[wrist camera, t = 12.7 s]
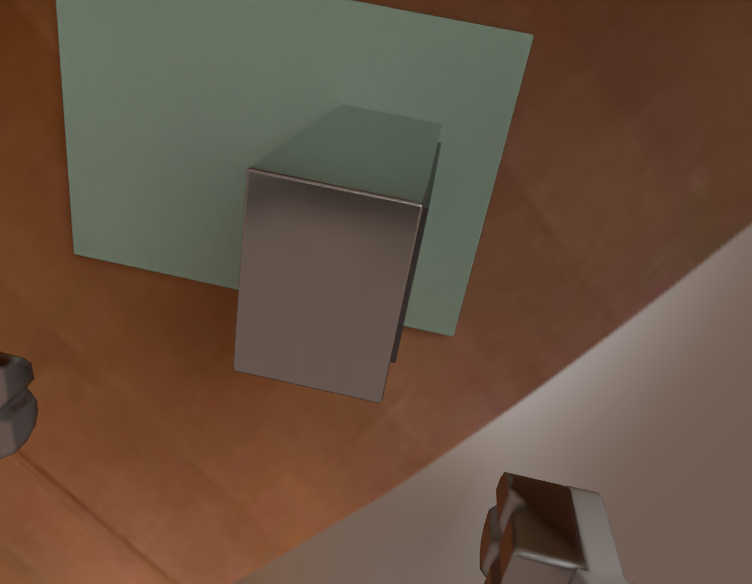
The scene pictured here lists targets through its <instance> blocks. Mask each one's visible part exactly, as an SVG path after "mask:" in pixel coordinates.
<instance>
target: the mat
mask: <svg viewBox="0 0 752 584" xmlns="http://www.w3.org/2000/svg"><path fill="white" fill-rule="evenodd" d="M56 10H57V24H58V38H59V52H60V66H61V80H62V94H63V108H64V122H65V136H66V150H67V164H68V178H69V192H70V206H71V220H72V233H73V247H74V254H77V255H81V256H86V257H90V258H95V259H99V260H104V261H109V262H113V263H118V264H122V265H127V266H131V267H136V268H141V269H145V270H150V271H154V272H159V273H164V274H168V275H173V276H177V277H182V278H186V279H191V280H196V281H200V282H205V283H209V284H214V285H219V286H223V287H228V288H232V289H237V290H238V288H239V274H240V259H241V245H242V230H243V216H244V201H245V186H246V172H247V169H248V168H249V167H250V166H252V165H253V164H255V163H256V162H258V161H259V160H261V159H262V158H263V157H265V156H266V155H268V154H269V153H271V152H272V151H274V150H275V149H277V148H278V147H280V146H281V145H283V144H284V143H286V142H287V141H289V140H290V139H292V138H293V137H294V136H296V135H297V134H299V133H300V132H302V131H303V130H305V129H306V128H308V127H309V126H311V125H312V124H314V123H315V122H317V121H318V120H320V119H321V118H323V117H324V116H326V115H327V114H328V113H330V112H331V111H333V110H334V109H336V108H337V107H339V106H340V105H348V106H353V107H358V108H363V109H368V110H373V111H378V112H383V113H388V114H393V115H399V116H404V117H409V118H414V119H419V120H424V121H429V122H434V123H439V124H441V130H440V135H439V140H438V142H439V143H441V148H440V154H439V159H438V164H437V169H436V175H435V180H434V185H433V190H432V196H431V201H430V206H429V211H428V215H427V220H426V225H425V229H424V234H423V238H422V243H421V247H420V252H419V257H418V261H417V266H416V270H415V275H414V279H413V284H412V289H411V293H410V298H409V302H408V307H407V311H406V316H405V321H404V325H403V326H406V327H411V328H416V329H420V330H425V331H429V332H434V333H438V334H443V335H448V336H454V332H455V329H456V325H457V321H458V317H459V314H460V310H461V306H462V302H463V299H464V295H465V291H466V288H467V284H468V280H469V276H470V273H471V269H472V265H473V261H474V258H475V254H476V250H477V246H478V243H479V239H480V235H481V231H482V228H483V224H484V220H485V216H486V213H487V209H488V205H489V201H490V198H491V194H492V190H493V186H494V183H495V179H496V175H497V171H498V168H499V164H500V160H501V156H502V153H503V149H504V145H505V142H506V138H507V134H508V130H509V127H510V123H511V119H512V115H513V112H514V108H515V104H516V100H517V97H518V93H519V89H520V85H521V82H522V78H523V74H524V70H525V67H526V63H527V59H528V55H529V52H530V48H531V44H532V40H533V35H532V34H527V33H522V32H517V31H511V30H506V29H501V28H496V27H490V26H485V25H480V24H474V23H469V22H464V21H459V20H453V19H448V18H443V17H437V16H432V15H427V14H422V13H416V12H411V11H406V10H400V9H395V8H390V7H385V6H379V5H374V4H369V3H363V2H358V1H353V0H56Z"/></svg>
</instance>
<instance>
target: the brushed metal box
mask: <svg viewBox="0 0 752 584" xmlns="http://www.w3.org/2000/svg"><path fill="white" fill-rule="evenodd" d="M440 130H441V124H439V123H434V122H429V121H424V120H419V119H414V118H409V117H404V116H399V115H393V114H388V113H383V112H378V111H373V110H368V109H363V108H358V107H353V106H348V105H340V106H339V107H337V108H336V109H334V110H333V111H331V112H330V113H328V114H327V115H326V116H324V117H323V118H321V119H320V120H318V121H317V122H315V123H314V124H312V125H311V126H309V127H308V128H306V129H305V130H303V131H302V132H300V133H299V134H297V135H296V136H294V137H293V138H292V139H290V140H289V141H287V142H286V143H284V144H283V145H281V146H280V147H278V148H277V149H275V150H274V151H272V152H271V153H269V154H268V155H266V156H265V157H263V158H262V159H261V160H259V161H258V162H256V163H255V164H253V165H252V166H250V167H249V168H248V169H247V172H246V186H245V201H244V216H243V230H242V245H241V259H240V274H239V288H238V303H237V318H236V332H235V347H234V361H233V369H234V370H235V371H239V372H243V373H248V374H252V375H257V376H261V377H265V378H270V379H274V380H279V381H283V382H288V383H292V384H296V385H301V386H305V387H310V388H314V389H319V390H323V391H328V392H332V393H336V394H341V395H345V396H350V397H354V398H359V399H363V400H367V401H372V402H376V403H380V402H381V401H382V398H383V394H384V389H385V384H386V380H387V375H388V371H389V366H390V362H393V363H395V362H396V357H397V352H398V348H399V343H400V339H401V334H402V330H403V325H404V321H405V316H406V311H407V307H408V302H409V298H410V293H411V289H412V284H413V279H414V275H415V270H416V266H417V261H418V257H419V252H420V247H421V243H422V238H423V234H424V229H425V225H426V220H427V215H428V211H429V206H430V201H431V196H432V190H433V185H434V180H435V175H436V169H437V164H438V159H439V154H440V148H441V143H439V142H438V140H439V135H440Z"/></svg>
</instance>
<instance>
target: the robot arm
mask: <svg viewBox="0 0 752 584" xmlns="http://www.w3.org/2000/svg"><path fill="white" fill-rule="evenodd" d="M33 380H34V375H33V370H32V364H31V362H29V361H27V360H26V359H24V358H22V357H18V356H14V355H10V354H7V353H3V352H0V459H1V458H4V457H7V456H9V455H12V454H14V453H15V452H16V451H17V450H18V449H19V448H21V447H22V446H23V445H24V444H25V443H26V442H27V440H28V438H29V436H30V435H31V433H32V431H33V429H34V427H35V425H36V420H37V415H38V407H37V400H36V399H35V397H34V396H33V395H32V393H31V392H30V391H29V389H28V388H27V387H28V386H29V385H30V383H31V382H32V381H33ZM496 497H497V505H496V506H494V507H493V508H491V509H489V511H488V514H487V517H486V521H485V524H484V528H483V533H482V539H481V547H480V570H481V571H482V573H483V574H484V576H485V577H486V580H485V583H484V584H635V583H632V582H628V581H626V580H625V577H624V573H623V569H622V566H621V562H620V559H619V555H618V552H617V548H616V545H615V541H614V538H613V535H612V531H611V527H610V523H609V520H608V516H607V513H606V509H605V506H604V502H603V498H602V497H601V496H600V494H599V493H598V492H594V491H589V490H585V489H580V488H575V487H571V486H563V485H559V484H555V483H550V482H546V481H541V480H537V479H533V478H528V477H524V476H519V475H515V474H511V473H506V472H504V474H503V475H502V477H501V478H500V481H499V484H498V486H497V489H496Z"/></svg>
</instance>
